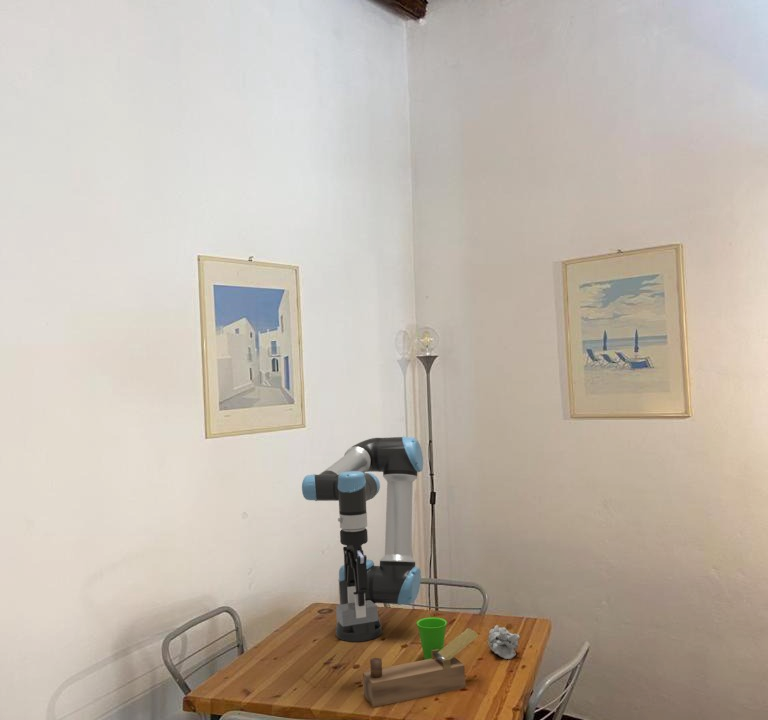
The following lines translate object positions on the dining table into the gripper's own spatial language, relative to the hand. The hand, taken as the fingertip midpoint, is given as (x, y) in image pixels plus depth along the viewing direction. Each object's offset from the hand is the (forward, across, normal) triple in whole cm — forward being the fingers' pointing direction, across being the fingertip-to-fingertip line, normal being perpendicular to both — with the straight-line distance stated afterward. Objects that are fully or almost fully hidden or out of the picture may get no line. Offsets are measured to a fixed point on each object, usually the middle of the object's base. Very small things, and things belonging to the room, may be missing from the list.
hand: (357, 613), depth 195 cm
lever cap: (+2, 0, 0) cm, 2 cm away
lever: (+12, +10, +20) cm, 25 cm away
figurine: (+20, -2, +46) cm, 50 cm away
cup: (+20, -7, +25) cm, 33 cm away
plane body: (+19, +10, +12) cm, 25 cm away
